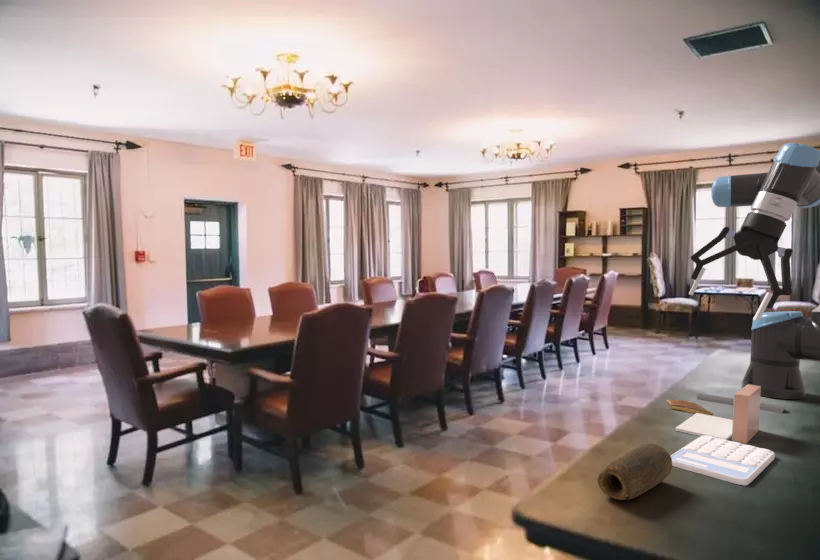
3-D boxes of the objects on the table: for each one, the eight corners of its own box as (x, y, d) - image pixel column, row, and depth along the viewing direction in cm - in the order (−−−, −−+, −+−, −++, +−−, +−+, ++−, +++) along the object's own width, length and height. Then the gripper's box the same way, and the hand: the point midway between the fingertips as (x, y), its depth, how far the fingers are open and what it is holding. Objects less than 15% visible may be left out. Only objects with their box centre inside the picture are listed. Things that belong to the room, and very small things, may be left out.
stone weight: (633, 471, 98) (634, 435, 97) (674, 484, 93) (675, 445, 92) (592, 497, 87) (594, 456, 87) (636, 512, 82) (637, 469, 82)
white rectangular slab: (696, 415, 132) (696, 412, 132) (743, 424, 126) (743, 422, 125) (675, 430, 121) (675, 427, 121) (725, 441, 114) (725, 438, 114)
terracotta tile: (744, 427, 124) (746, 384, 123) (758, 430, 122) (760, 386, 121) (731, 440, 115) (733, 393, 114) (746, 443, 113) (748, 396, 112)
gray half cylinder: (698, 398, 150) (699, 391, 150) (784, 411, 139) (785, 404, 138) (695, 401, 147) (696, 394, 147) (783, 415, 135) (783, 408, 135)
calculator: (776, 459, 106) (776, 450, 106) (746, 489, 92) (746, 478, 92) (702, 441, 115) (702, 432, 115) (664, 466, 101) (664, 456, 101)
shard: (713, 419, 131) (713, 412, 131) (680, 418, 131) (680, 411, 131) (692, 406, 142) (692, 399, 141) (662, 405, 142) (662, 399, 142)
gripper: (708, 194, 118) (665, 284, 121) (839, 237, 108) (788, 333, 112) (705, 198, 124) (665, 284, 128) (829, 239, 115) (781, 330, 119)
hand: (722, 307), depth 120 cm, fingers open, 13 cm apart
